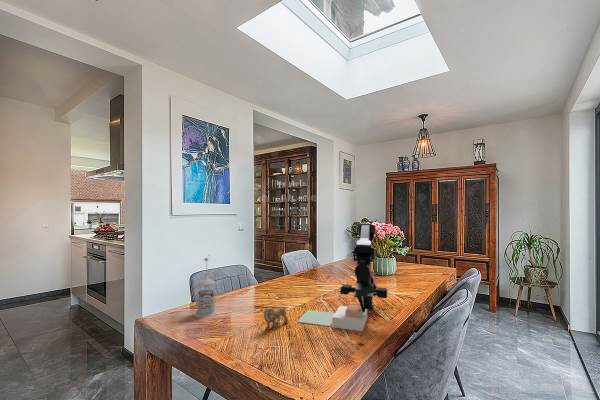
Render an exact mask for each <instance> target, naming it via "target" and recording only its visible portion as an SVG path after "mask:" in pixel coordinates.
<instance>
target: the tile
mask: <svg viewBox="0 0 600 400" xmlns="http://www.w3.org/2000/svg"><path fill="white" fill-rule="evenodd" d="M346 307H347V309H346V311H345V316H349V317H357V318H361V315H362V313H363V311H362V308H361V306H360V305H356V304H348V306H346Z"/></svg>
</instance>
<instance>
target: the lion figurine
mask: <svg viewBox="0 0 600 400" xmlns="http://www.w3.org/2000/svg"><path fill="white" fill-rule="evenodd" d="M286 313H287V312H286V309H285V308H284V307H278V308H276V309H274V308H272V307H271V306H269V307H266V308H265V309H264V311H263V319H264V321H265V322H266V325H267V326H266V327H265V328H266V329H267V330H269V329H270V325H271V324H270V323H272V326H271V327H272V328H271V330H276V325H277V324H279V323H280V321H281V316H282V318H283V319H284V323H285V324H288V322H289V319H288V316H287V314H286ZM276 320H277V321H276Z"/></svg>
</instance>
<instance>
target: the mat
mask: <svg viewBox="0 0 600 400" xmlns="http://www.w3.org/2000/svg"><path fill="white" fill-rule="evenodd" d="M335 313H336V312H327V311H319V310H309V309H308V310H306V311H305V312H304V314H303V315H302V316H301V317H300V318H299V319H298V320H297V321H296V322H297V323H298V324H306V325H312V326H321V327H327V328H329V327H331V326H332V317H333V316H334V314H335Z"/></svg>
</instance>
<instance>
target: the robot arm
mask: <svg viewBox="0 0 600 400" xmlns="http://www.w3.org/2000/svg"><path fill="white" fill-rule="evenodd" d="M357 234H358V236H359V239H358V240H357V241H356V243H355V245H354V246H353V247H354V248H353V258H352V259H353V260H352V261H353V262H356V266H355V268H354V276H355V277H356V282H355V287H353V286H352V284H342V286H341V287H340V289H339V293H340V295H349V293H354V295H353V297H354V298H357V300H358V303H359V306H361V308H362V311H363V312H365V309H367V310H371V311H372V310H374V308H375V307H374V305H375V304H373V303H374V302H373V299H374V297H376V296H377V297H378V298H379V299H381V298H382V299H388V293H389V291H388V288H386V287H377V284H376V282H375V278H374V277H373V276H372V273H371V272H372V266H371V265H372V263H373V262H374V260H375V254H376V253H375V248H374V246H372V245H373V244H372V243H373V241H374V239H375V236H376V225H373V224H372V223H370V222H361V223H359V224H358V225H357Z"/></svg>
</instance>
